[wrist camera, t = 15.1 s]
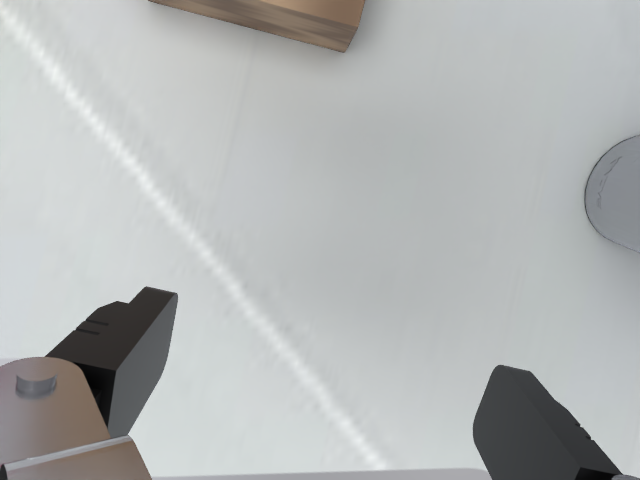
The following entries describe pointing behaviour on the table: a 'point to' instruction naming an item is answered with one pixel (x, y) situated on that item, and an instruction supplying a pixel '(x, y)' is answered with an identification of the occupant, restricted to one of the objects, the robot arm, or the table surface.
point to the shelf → (286, 17)
